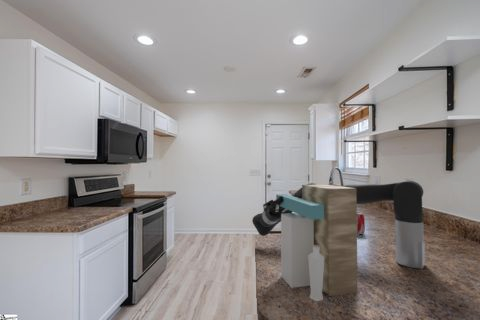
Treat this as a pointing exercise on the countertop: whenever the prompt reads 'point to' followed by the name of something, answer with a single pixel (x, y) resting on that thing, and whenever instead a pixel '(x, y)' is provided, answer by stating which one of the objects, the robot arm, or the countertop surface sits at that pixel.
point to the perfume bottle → (316, 273)
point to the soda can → (360, 223)
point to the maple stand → (336, 236)
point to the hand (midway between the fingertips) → (287, 198)
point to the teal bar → (302, 207)
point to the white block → (296, 248)
